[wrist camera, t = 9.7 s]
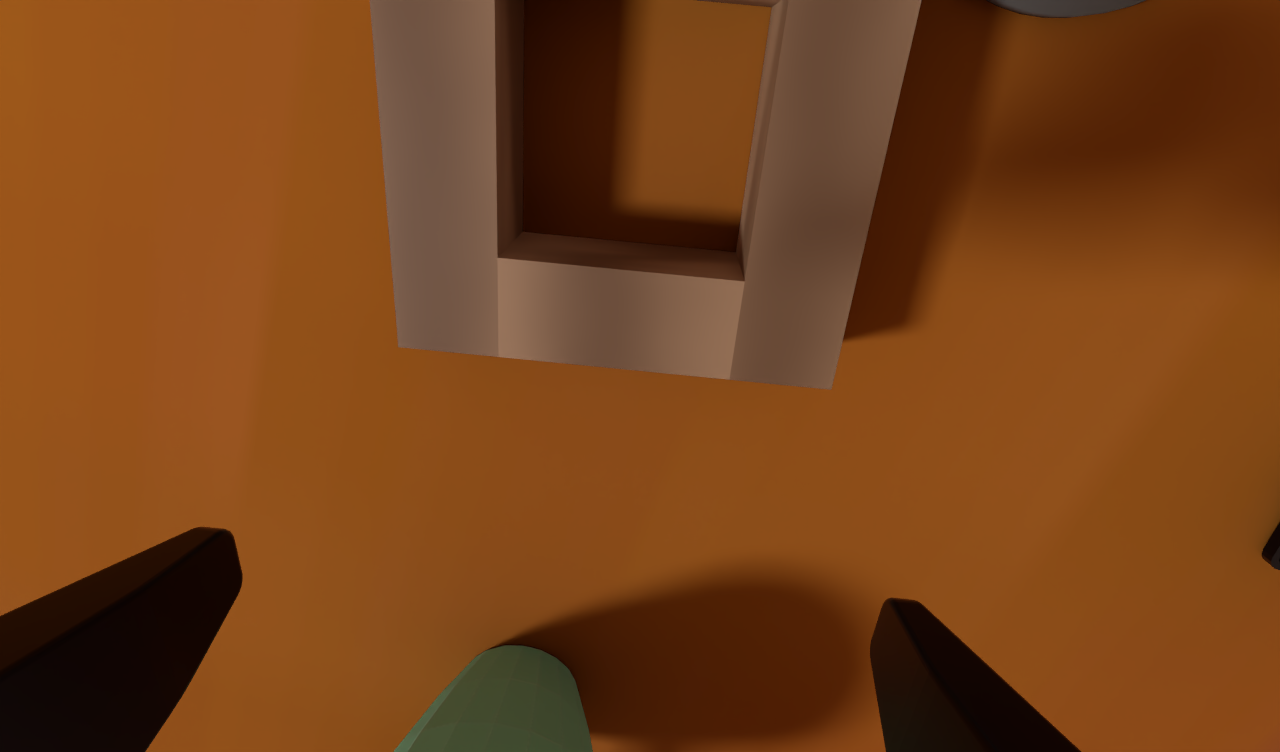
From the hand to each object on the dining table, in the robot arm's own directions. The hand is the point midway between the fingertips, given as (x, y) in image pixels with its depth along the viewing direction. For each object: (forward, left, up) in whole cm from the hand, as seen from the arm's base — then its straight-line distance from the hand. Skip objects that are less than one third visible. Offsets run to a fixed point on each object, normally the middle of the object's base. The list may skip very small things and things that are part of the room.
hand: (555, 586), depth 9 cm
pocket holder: (0, -5, -12) cm, 13 cm away
